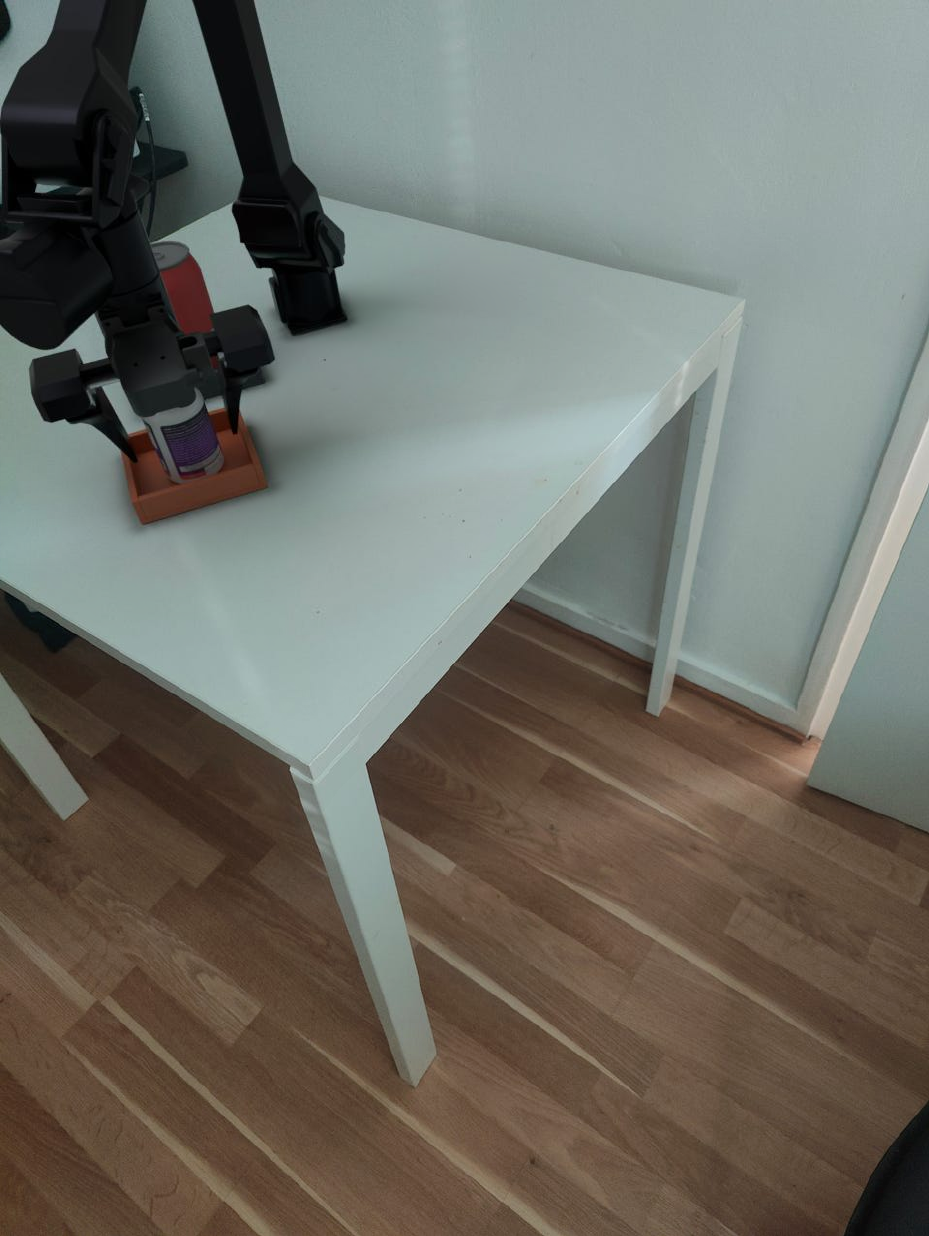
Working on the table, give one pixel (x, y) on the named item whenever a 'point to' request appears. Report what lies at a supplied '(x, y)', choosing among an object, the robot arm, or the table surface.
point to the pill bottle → (186, 441)
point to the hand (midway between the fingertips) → (185, 445)
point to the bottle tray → (167, 498)
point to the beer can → (184, 287)
